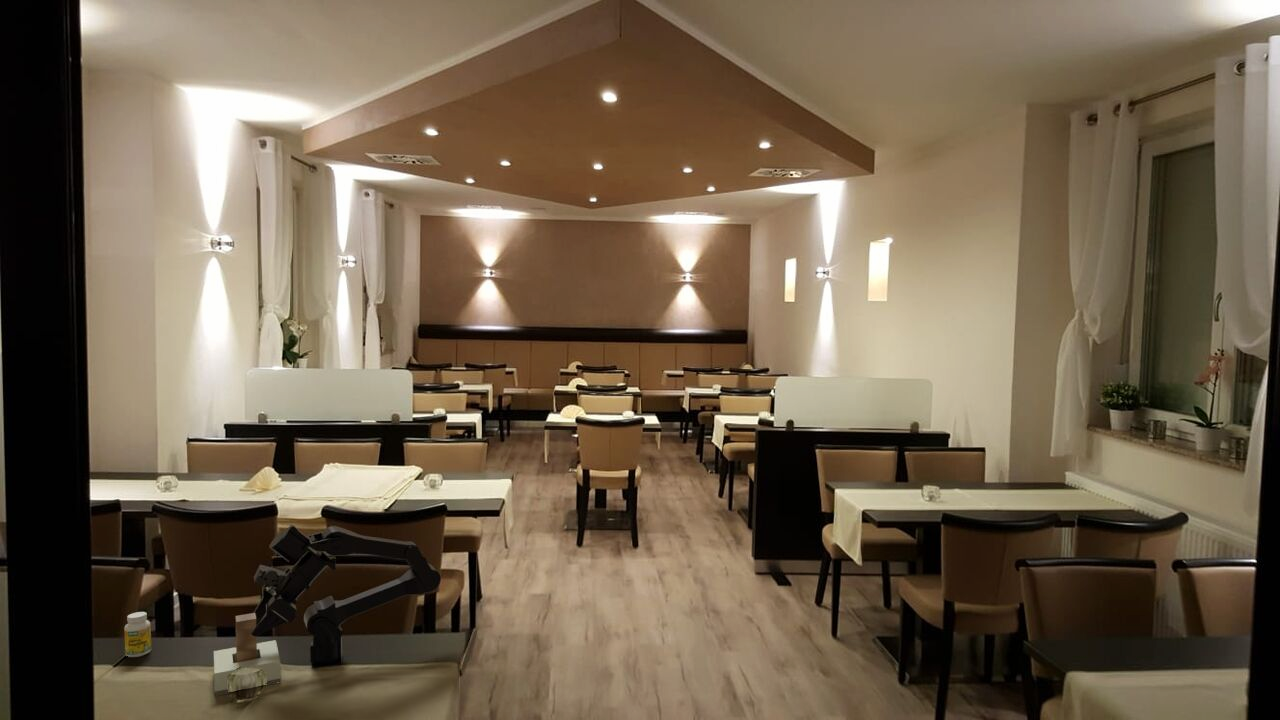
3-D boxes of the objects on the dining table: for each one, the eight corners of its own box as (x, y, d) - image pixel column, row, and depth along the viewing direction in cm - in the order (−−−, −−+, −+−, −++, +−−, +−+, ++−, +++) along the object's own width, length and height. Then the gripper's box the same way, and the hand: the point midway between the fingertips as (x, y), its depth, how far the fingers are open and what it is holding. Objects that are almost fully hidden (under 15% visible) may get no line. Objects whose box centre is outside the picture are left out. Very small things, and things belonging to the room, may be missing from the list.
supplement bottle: (151, 646, 191) (150, 609, 190) (151, 654, 186) (150, 615, 186) (125, 651, 188) (124, 613, 188) (124, 659, 184) (123, 620, 183)
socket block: (276, 660, 184) (275, 640, 183) (280, 682, 172) (280, 660, 172) (214, 672, 177) (213, 651, 177) (214, 696, 166) (214, 673, 166)
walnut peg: (256, 667, 177) (255, 612, 177) (257, 674, 174) (256, 618, 173) (236, 671, 175) (235, 616, 175) (237, 678, 172) (236, 621, 171)
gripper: (273, 542, 185) (222, 595, 180) (279, 563, 168) (223, 622, 164) (309, 569, 189) (260, 622, 184) (318, 592, 173) (265, 650, 168)
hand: (251, 628), depth 175 cm, fingers open, 9 cm apart
